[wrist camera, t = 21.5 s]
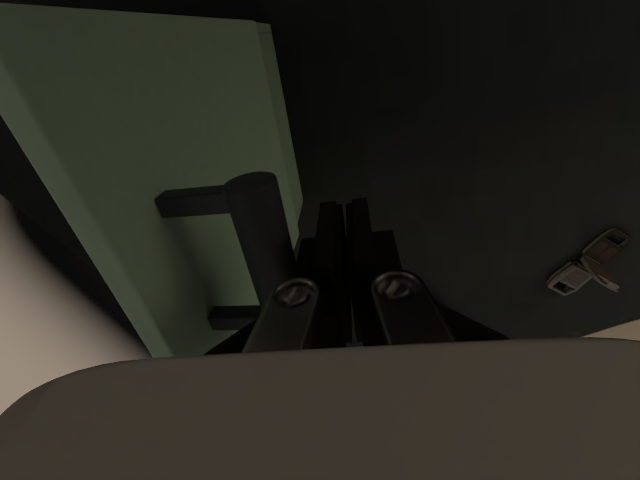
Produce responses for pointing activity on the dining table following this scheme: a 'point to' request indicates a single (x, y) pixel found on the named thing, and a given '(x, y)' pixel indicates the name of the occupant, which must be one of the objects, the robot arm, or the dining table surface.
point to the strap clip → (589, 265)
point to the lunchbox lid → (157, 160)
